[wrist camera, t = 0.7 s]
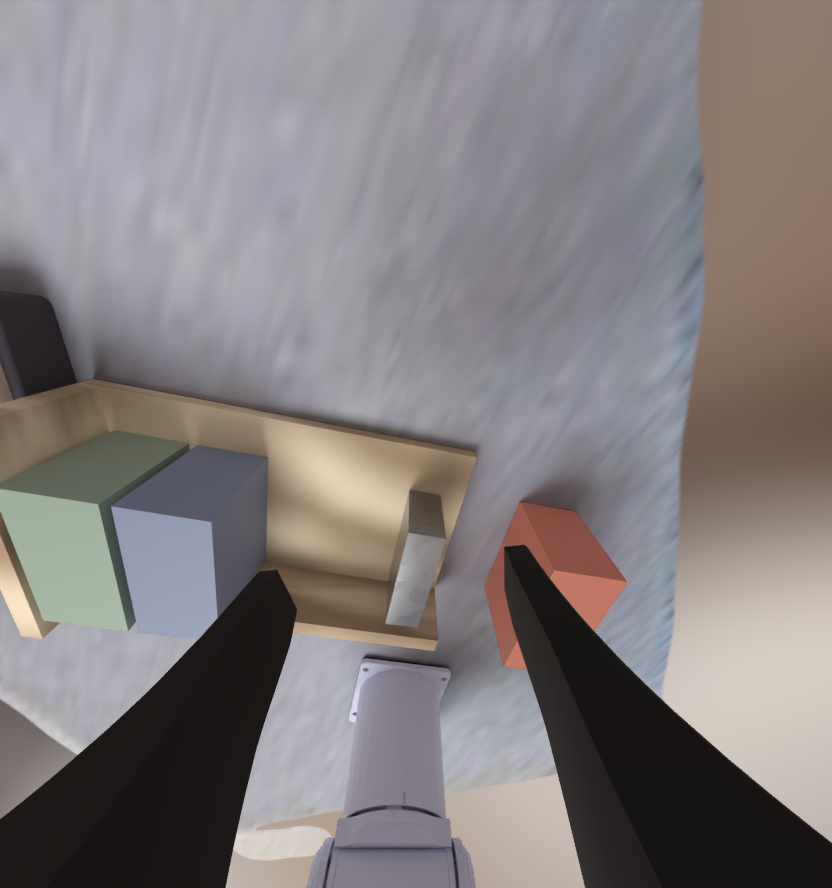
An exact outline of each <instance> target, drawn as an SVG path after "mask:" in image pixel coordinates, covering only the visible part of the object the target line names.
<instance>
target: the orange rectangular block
mask: <svg viewBox="0 0 832 888" xmlns="http://www.w3.org/2000/svg"><path fill="white" fill-rule="evenodd" d="M516 545H525V546H527V547H528V548H529V550H530V551H531V553H532V554H533V556H534V557H535V559H536V560H537V562H538V563H539V564H540V566H541V567H542V568H543V570H544V571H545V573H546V574H547V575H548V576H549V578H550V579H551V580H552V582H553V583H554V584H555V586H556V587H557V588H558V589H559V591H560V592H561V593H562V594H563V596H564V597H565V598H566V599H567V600H568V602H569V603H570V604H571V605H572V606H573V608H574V609H575V610H576V611H577V612H578V614H579V615H580V616H581V617H582V618H583V619H584V620H585V622H586V623H587V624H588V625H589V626H590V627H591V628H592V629H593V631H595V630H596V628H597V627H598V625H599V624H600V622H601V621H602V619H603V618H604V616H605V615H606V613H607V612H608V610H609V609H610V607H611V606H612V604H613V603H614V601H615V600H616V598H617V597H618V595H619V594H620V592H621V591H622V589H623V588H624V586H625V585H626V583H627V581H626V579H625V578H624V577H623V575H622V574H621V573H620V571H619V570H618V569H617V567H616V566H615V565H614V563H613V562H612V560H611V559H610V558H609V556H608V555H607V554H606V552H605V551H604V550H603V548H602V547H601V546H600V544H599V543H598V542H597V540H596V539H595V537H594V536H593V535H592V533H591V532H590V531H589V529H588V528H587V527H586V525H585V524H584V523H583V521H582V520H581V518H580V517H579V516H578V514H577V513H576V512H575V511H569V510H563V509H558V508H552V507H547V506H541V505H535V504H530V503H524V502H519V504H518V507H517V509H516V512H515V514H514V516H513V519H512V521H511V524H510V526H509V528H508V531H507V533H506V536H505V538H504V540H503V543H502V545H501V548H500V550H499V552H498V555H497V557H496V560H495V562H494V564H493V567H492V569H491V572H490V574H489V577H488V579H487V581H486V584H485V586H484V587H485V591H486V595H487V600H488V604H489V608H490V612H491V616H492V620H493V624H494V629H495V633H496V637H497V641H498V645H499V649H500V653H501V658H502V662H503V666H504V667H510V668H518V669H526V670H527V668H526V665H525V662H524V659H523V656H522V653H521V650H520V647H519V643H518V640H517V637H516V634H515V631H514V628H513V625H512V621H511V617H510V613H509V608H508V604H507V599H506V595H505V591H504V547H506V546H516Z"/></svg>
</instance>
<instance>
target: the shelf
mask: <svg viewBox="0 0 832 888" xmlns="http://www.w3.org/2000/svg"><path fill="white" fill-rule="evenodd" d="M114 430H118V431H124V432H129V433H135V434H140V435H146V436H152V437H157V438H163V439H169V440H174V441H180V442H185V443H189V449H190V450H191V449H193V448H194V447H196V446H197V445H202V446H208V447H214V448H219V449H225V450H230V451H236V452H242V453H247V454H253V455H259V456H264V457H268V496H267V536H266V559H265V561H264V562H263V564H262V566H261V568H260V570H259V571H269V570H278V572H279V574H280V576H281V578H282V580H283V582H284V584H285V586H286V588H287V590H288V592H289V594H290V596H291V598H292V600H293V602H294V604H295V606H296V608H297V614H296V619H295V624H294V629H293V633H298V634H306V635H314V636H321V637H329V638H337V639H345V640H352V641H360V642H368V643H376V644H383V645H391V646H399V647H407V648H414V649H422V650H430V651H435V648H436V645H437V643H438V632H437V618H436V604H435V590H434V588H435V585H436V582H437V579H438V575H439V572H440V569H441V566H442V563H443V560H444V557H445V554H446V551H447V548H448V545H449V542H450V539H451V536H452V533H453V530H454V527H455V523H456V520H457V517H458V514H459V511H460V508H461V505H462V502H463V499H464V496H465V493H466V490H467V487H468V484H469V481H470V478H471V475H472V472H473V468H474V465H475V462H476V459H477V456H476V454H475V452H474V451H469V450H464V449H458V448H453V447H448V446H443V445H437V444H432V443H427V442H422V441H416V440H411V439H406V438H401V437H395V436H390V435H385V434H380V433H374V432H369V431H364V430H359V429H353V428H348V427H343V426H338V425H332V424H327V423H322V422H317V421H311V420H306V419H301V418H296V417H290V416H285V415H280V414H275V413H269V412H264V411H259V410H254V409H248V408H243V407H238V406H233V405H227V404H222V403H217V402H212V401H206V400H201V399H196V398H191V397H185V396H180V395H175V394H170V393H164V392H159V391H154V390H149V389H143V388H138V387H133V386H128V385H122V384H117V383H112V382H107V381H101V380H96V379H90V380H86V381H83V382H79V383H75V384H72V385H68V386H64V387H61V388H57V389H53V390H49V391H46V392H42V393H38V394H35V395H31V396H27V397H23V398H20V399H16V400H12V401H9V402H5V403H1V404H0V483H2V482H4V481H6V480H8V479H10V478H13V477H15V476H17V475H19V474H21V473H23V472H26V471H28V470H30V469H32V468H34V467H36V466H39V465H41V464H43V463H45V462H47V461H49V460H52V459H54V458H56V457H58V456H60V455H62V454H65V453H67V452H69V451H71V450H73V449H75V448H78V447H80V446H82V445H84V444H86V443H88V442H91V441H93V440H95V439H97V438H99V437H101V436H104V435H106V434H108V433H110V432H112V431H114ZM409 490H413V491H419V492H425V493H431V494H436V495H441V502H442V510H443V517H444V525H445V532H446V542H445V545H444V548H443V551H442V554H441V558H440V561H439V564H438V567H437V570H436V573H435V576H434V579H433V583H432V586H431V589H430V592H429V595H428V598H427V601H426V604H425V608H424V611H423V614H422V617H421V620H420V623H419V626H418V628H414V627H406V626H399V625H392V624H385V620H386V609H387V597H388V585H389V573H390V568H391V564H392V560H393V556H394V551H395V547H396V543H397V539H398V535H399V531H400V526H401V522H402V518H403V514H404V510H405V506H406V501H407V497H408V493H409ZM259 571H258V572H259ZM0 589H1V591H2V594H3V596H4V598H5V600H6V603H7V605H8V607H9V609H10V611H11V614H12V616H13V618H14V620H15V623H16V625H17V627H18V629H19V631H20V634H21V636H24V637H32V638H41V639H43V638H44V637H45V636H46V635H47V634H48V633H49V632H50V631H51V630H53V629H54V628H55V627H56V626H57V625H58V624H59V622H51V621H43V618H42V616H41V613H40V610H39V608H38V605H37V603H36V600H35V598H34V595H33V593H32V590H31V588H30V585H29V583H28V580H27V578H26V575H25V572H24V570H23V567H22V565H21V562H20V560H19V557H18V555H17V552H16V550H15V547H14V545H13V542H12V540H11V537H10V534H9V532H8V529H7V527H6V524H5V522H4V519H3V517H2V514H1V512H0Z"/></svg>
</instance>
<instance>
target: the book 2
mask: <svg viewBox="0 0 832 888" xmlns="http://www.w3.org/2000/svg"><path fill="white" fill-rule="evenodd" d="M267 496H268V457H264V456H259V455H253V454H247V453H242V452H236V451H230V450H225V449H219V448H214V447H208V446H202V445H197V446H196V447H194V448H193V449H191V450H190V451H188V452H187V453H186V454H184V455H183V456H181V457H180V458H179V459H177V460H176V461H174V462H173V463H171V464H170V465H169V466H167V467H166V468H164V469H163V470H162V471H160V472H159V473H157V474H156V475H155V476H153V477H152V478H150V479H149V480H147V481H146V482H145V483H143V484H142V485H140V486H139V487H138V488H136V489H135V490H133V491H132V492H130V493H129V494H128V495H126V496H125V497H123V498H122V499H121V500H119V501H118V502H116V503H115V504H114V505H112V506H111V509H112V514H113V518H114V523H115V527H116V532H117V536H118V541H119V545H120V550H121V555H122V559H123V564H124V568H125V573H126V577H127V582H128V586H129V591H130V596H131V600H132V605H133V609H134V614H135V618H136V623H137V628H138V632H140V633H148V634H156V635H164V636H173V637H181V638H189V639H197V640H198V639H199V638H200V637H201V636H202V635H203V634H204V633H205V631H206V630H207V629H208V628H209V627H210V626H211V625H212V624H213V623H214V621H215V620H216V619H217V618H218V617H219V616H220V615H221V614H222V613H223V611H224V610H225V609H226V608H227V607H228V606H229V605H230V603H231V602H232V601H233V600H234V599H235V598H236V597H237V595H238V594H239V593H240V592H241V591H242V590H243V589H244V588H245V586H246V585H247V584H248V583H249V582H250V581H251V580H252V579H253V577H254V576H255V575H256V574H257V573H258V571H259V570H260V568H261V566H262V564H263V562H264V561H265V559H266V536H267Z"/></svg>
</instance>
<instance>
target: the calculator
mask: <svg viewBox="0 0 832 888" xmlns="http://www.w3.org/2000/svg"><path fill="white" fill-rule="evenodd" d="M75 383H77V382H76V379H75V375H74V372H73V369H72V366H71V363H70V360H69V356H68V353H67V350H66V347H65V344H64V341H63V338H62V334H61V331H60V328H59V325H58V322H57V319H56V316H55V313H54V310H53V307H52V305H51V303H50V302H49V301H48V300H47V299H45V298H43V297H41V296H35V295H27V294H19V293H11V292H3V291H0V404H1V403H5V402H9V401H12V400H16V399H20V398H23V397H27V396H31V395H35V394H38V393H42V392H46V391H49V390H53V389H57V388H61V387H64V386H68V385H72V384H75Z"/></svg>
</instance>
